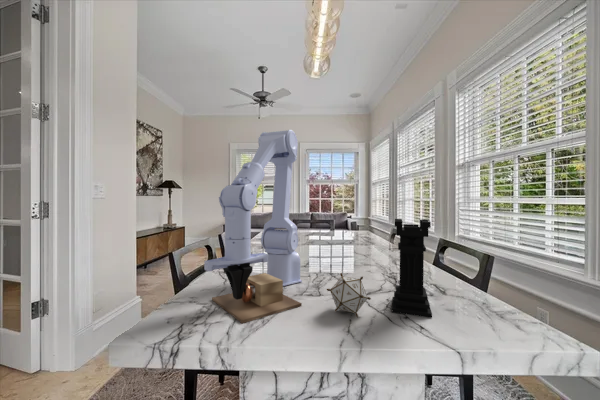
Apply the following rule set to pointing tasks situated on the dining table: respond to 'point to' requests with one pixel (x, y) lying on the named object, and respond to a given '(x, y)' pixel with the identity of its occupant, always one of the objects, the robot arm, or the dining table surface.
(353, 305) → the game die
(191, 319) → the dining table surface
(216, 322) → the dining table surface
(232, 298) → the block
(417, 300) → the chess piece
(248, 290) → the pin
